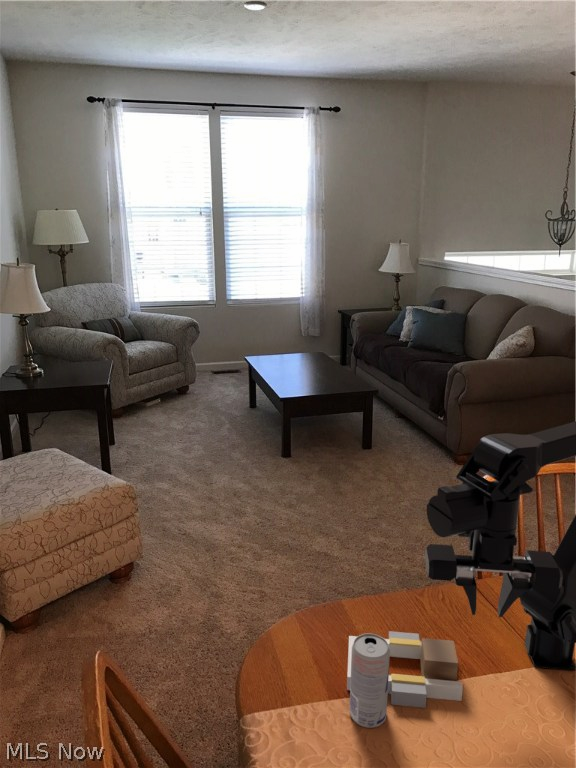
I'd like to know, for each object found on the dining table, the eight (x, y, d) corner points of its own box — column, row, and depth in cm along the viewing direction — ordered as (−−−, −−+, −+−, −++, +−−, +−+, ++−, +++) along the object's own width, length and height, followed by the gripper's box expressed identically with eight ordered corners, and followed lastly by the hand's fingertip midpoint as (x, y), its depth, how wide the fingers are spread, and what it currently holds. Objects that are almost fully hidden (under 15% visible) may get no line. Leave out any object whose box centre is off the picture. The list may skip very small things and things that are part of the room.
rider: (451, 666, 96) (453, 640, 94) (455, 690, 91) (458, 663, 89) (420, 664, 96) (421, 638, 95) (422, 687, 91) (424, 660, 90)
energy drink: (385, 701, 88) (388, 633, 85) (387, 731, 83) (391, 659, 80) (349, 698, 89) (351, 631, 86) (349, 727, 84) (352, 657, 81)
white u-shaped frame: (450, 648, 99) (452, 634, 99) (463, 711, 87) (465, 696, 86) (348, 639, 102) (349, 626, 101) (346, 699, 89) (346, 685, 88)
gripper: (546, 500, 92) (535, 587, 96) (424, 493, 94) (419, 579, 98) (570, 536, 81) (556, 633, 85) (432, 528, 84) (425, 622, 88)
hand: (486, 614), depth 89 cm, fingers open, 4 cm apart
